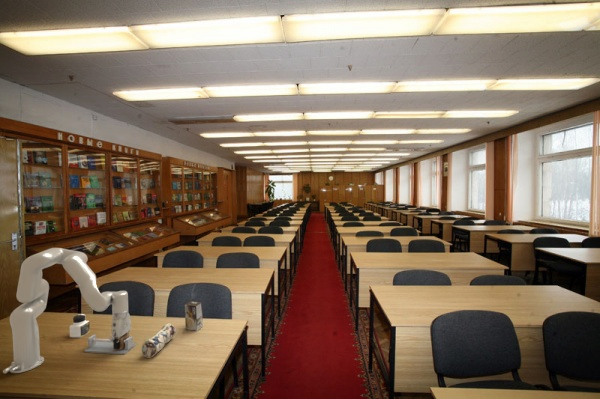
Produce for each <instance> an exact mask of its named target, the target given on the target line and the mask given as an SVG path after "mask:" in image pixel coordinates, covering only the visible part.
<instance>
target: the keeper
mask: <svg viewBox="0 0 600 399" xmlns="http://www.w3.org/2000/svg"><path fill="white" fill-rule="evenodd" d="M129 337H130V333H129V334H128V333H125V334H124V335H123V336H121V337H120V339H119V342H120V349H116V350H122V349H123V348H125V343H124V340H126V339H127V338H129ZM116 339H117V337H116ZM113 349H114V342H113Z"/></svg>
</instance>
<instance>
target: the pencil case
mask: <svg viewBox="0 0 600 399" xmlns="http://www.w3.org/2000/svg"><path fill="white" fill-rule="evenodd" d="M176 330H177V329H176V327H175V326H174V325H173V324H171V322H169V323H166V324H165V325H163V326H162V328H161V329H160V330H159V331H158V332H157V333H156V334H154V336H152V337H150V338H148V339H145V340H144V341H143V344H142V346H141V352H142V355H143V357H145V358H147V359H151V358H153V357H155V356H156V355H157V354H158V353H159V352H160V351H161V350H162V349H163V348H164V347H165V346H166V345H167V344H168V343H170V341H171V340H172V339H173V338H174V336H175V335H176Z"/></svg>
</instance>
